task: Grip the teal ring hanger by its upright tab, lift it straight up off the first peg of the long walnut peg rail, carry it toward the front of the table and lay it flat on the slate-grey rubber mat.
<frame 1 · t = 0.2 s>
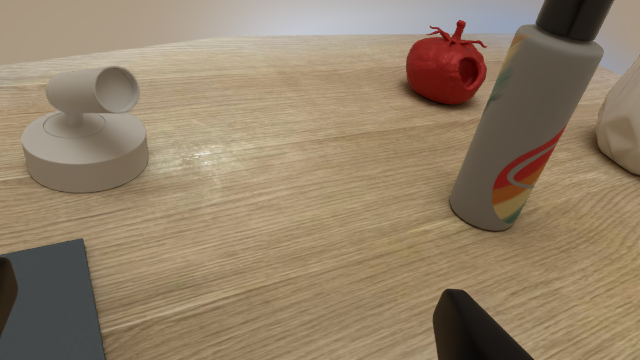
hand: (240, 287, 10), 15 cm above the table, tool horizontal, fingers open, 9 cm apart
pomegranate: (436, 95, 59), on the table
lotion bottle: (479, 212, 39), on the table
wall hook: (96, 165, 36), on the table
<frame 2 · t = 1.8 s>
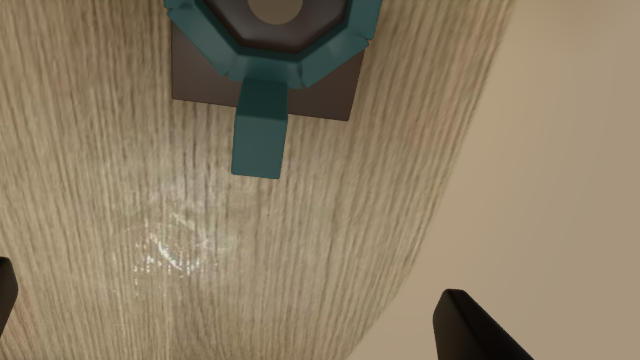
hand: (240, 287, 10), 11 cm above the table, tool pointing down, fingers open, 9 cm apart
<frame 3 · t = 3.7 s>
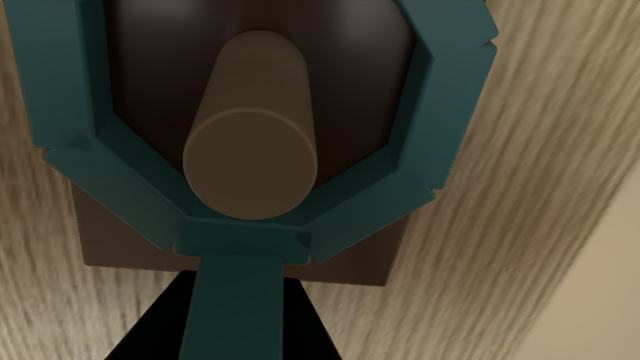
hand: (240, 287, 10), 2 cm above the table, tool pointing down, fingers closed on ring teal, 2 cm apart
ring teal: (261, 75, 8), point 1 cm above the table, touching gripper, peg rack
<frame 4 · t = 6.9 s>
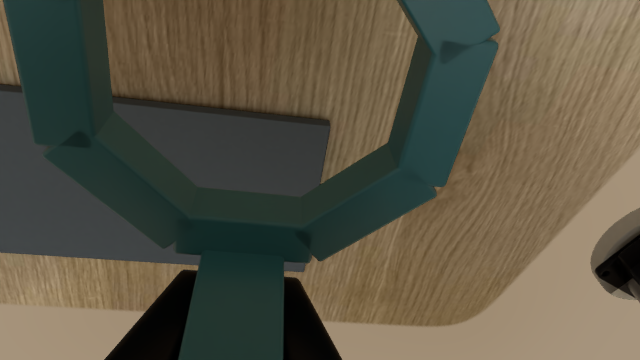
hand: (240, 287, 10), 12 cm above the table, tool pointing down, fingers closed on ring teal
mat: (128, 184, 22), on the table
ring teal: (261, 72, 8), point 11 cm above the table, touching gripper
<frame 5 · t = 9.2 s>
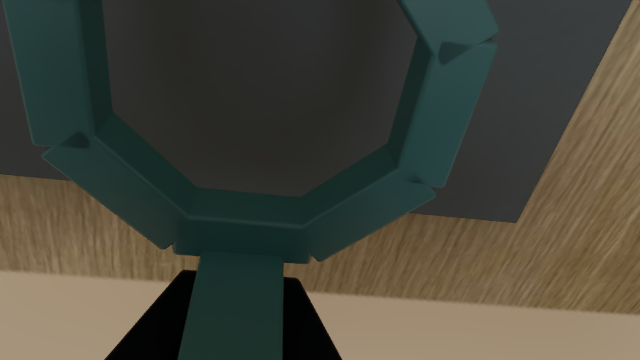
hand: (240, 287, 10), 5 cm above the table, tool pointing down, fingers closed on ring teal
mat: (262, 49, 12), on the table
ring teal: (261, 73, 8), point 4 cm above the table, touching gripper
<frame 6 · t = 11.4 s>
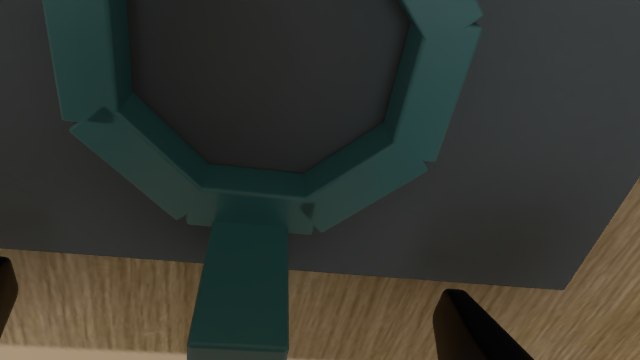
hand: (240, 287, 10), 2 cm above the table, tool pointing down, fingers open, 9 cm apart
mat: (262, 95, 10), on the table
ring teal: (268, 56, 9), point 1 cm above the table, touching mat
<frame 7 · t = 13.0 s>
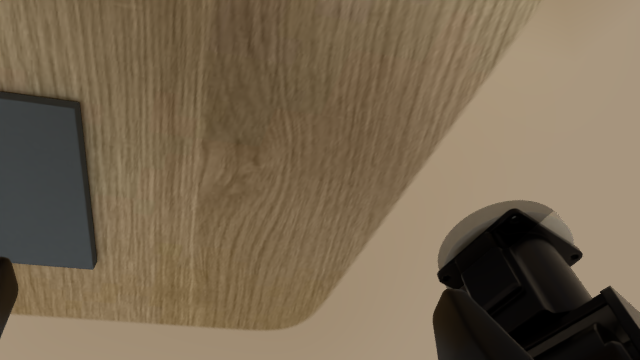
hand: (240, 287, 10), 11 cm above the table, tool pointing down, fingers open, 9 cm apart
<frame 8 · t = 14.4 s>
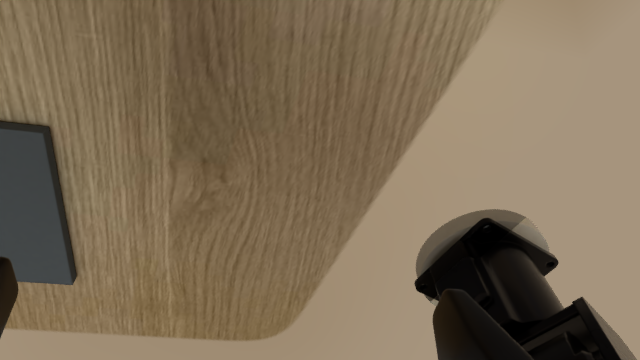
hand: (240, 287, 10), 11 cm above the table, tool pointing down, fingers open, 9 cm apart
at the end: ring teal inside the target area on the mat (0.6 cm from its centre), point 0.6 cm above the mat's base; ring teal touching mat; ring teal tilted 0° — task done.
